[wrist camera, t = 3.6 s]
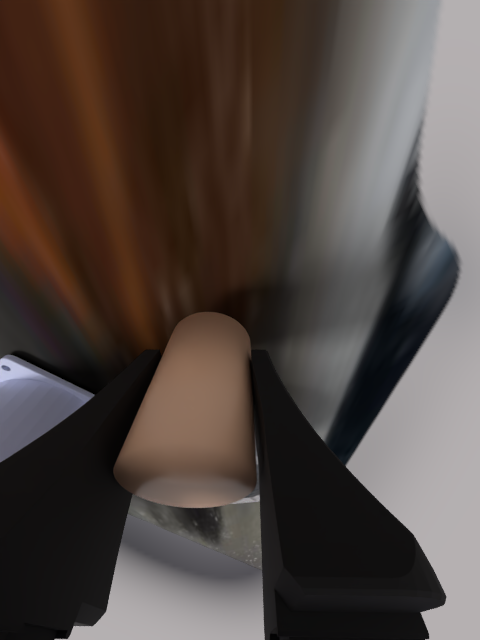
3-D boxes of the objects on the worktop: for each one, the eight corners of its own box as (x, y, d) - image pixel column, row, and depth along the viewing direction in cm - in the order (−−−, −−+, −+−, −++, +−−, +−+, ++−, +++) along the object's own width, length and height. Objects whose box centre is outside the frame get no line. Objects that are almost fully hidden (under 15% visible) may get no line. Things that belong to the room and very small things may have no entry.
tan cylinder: (215, 383, 13) (197, 516, 8) (155, 345, 11) (87, 480, 6) (267, 345, 11) (286, 482, 6) (206, 295, 10) (168, 423, 5)
